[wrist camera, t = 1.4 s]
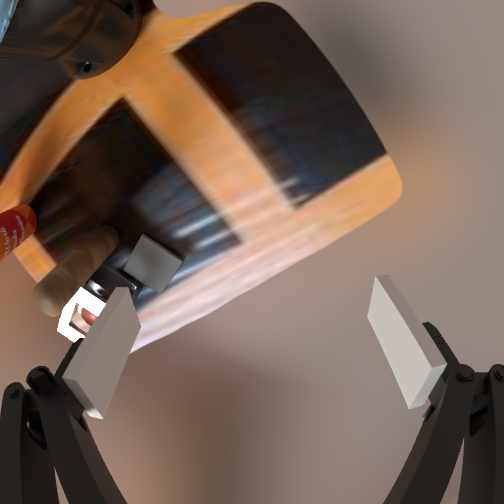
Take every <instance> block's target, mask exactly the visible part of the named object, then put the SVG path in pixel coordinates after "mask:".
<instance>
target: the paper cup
mask: <svg viewBox="0 0 504 504" xmlns="http://www.w3.org/2000/svg"><path fill="white" fill-rule="evenodd" d="M36 227H37V218H36V215H35V213H34V211H33V209H32V208H31V207H30V206H29V205H27V204H22V205H19V206H16V207H14V208H11V209H9V210H7V211H5V212H3V213H0V262H1V261H2V260H3V259H4V258H5V257H6V256H7V255H9V253H11V252H12V251H13V250H14V249H15V248H16V247H18V246H19V245H20V244H21V243H22V242H23V241H25V240H26V239H27V238H28V237H29V236H30V235H32V234H33V233H34V232H35V230H36Z"/></svg>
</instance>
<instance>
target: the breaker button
mask: <svg viewBox="0 0 504 504" xmlns="http://www.w3.org/2000/svg"><path fill="white" fill-rule="evenodd" d="M100 296H101V297H103V296H102V295H100ZM103 298H104V299H106V298H105V297H103ZM106 300H107V299H106ZM107 301H108V300H107ZM81 315H82V317H83V319H84V320H85V322H86V323H87V324H89V325H90V326H92V324H93V323H94V321H95V320H96V318H97V315H95V314H94V313H92V312H91V311H89V310H88V309H86V308H85V307H82V309H81Z"/></svg>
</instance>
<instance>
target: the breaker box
mask: <svg viewBox="0 0 504 504" xmlns="http://www.w3.org/2000/svg"><path fill="white" fill-rule="evenodd" d="M116 287H128V288H129V291H130V295H131V298H132V301H133V303H134V301H135V300H136V298H137V296H138V294H139V293H140V291H141V289H142V287H143V286H142V285H140V284H139V283H137V282H136V281H134V280H133V279H131V278H129V277H128V276H126V275H125V274H123V273H122V272H120V271H119V270H117V269H116V268H114V267H113V266H112V265H110V264H109V263H107V262H106V261H104V262H103V263H102V264H101V265H100V266H99V267H98V269H97V270H96V271H95V272H94V273H93V274H92V275H91V277H90V278H89V279H88V280H87V281H86V282H85V284H84V285H83V286H82V287H81V288H80V290H79V291H78V292H77V293H76V294H75V296H74V297H73V298H72V299H71V300H70V302H69V303H68V304H67V305H66V307H65V308H64V309H63V313H62V316H61V319H60V323H59V327H58V331H59V332H60V333H62V334H63V335H65V336H66V337H68V338H69V339H71V340H72V341H74V342H75V341H76V340H77V339H78V338H79V337H85V336H86V334H87V333H85V332H84V331H82V330H81V329H79V328H78V327H76V326H75V325H74V324H72V323H71V322H70V321H71V319H72V318H73V316H74V315H75V314H76V312H77V311H78V312H80V313H81V309H82V307H85V308H86V309H88V310H89V311H91V312H92V313H94V314H95V315H97V316H98V315H99V313H100V312H101V310H102V308H103V307H104V305H105V304H106V302H107V300H108V299H109V298H110V296H111V295H112V293H113V291H114V290H115V288H116ZM100 295H102V296H103V297H105V298H106V299H107V300H106V299H104V298H103V297H101V296H100Z"/></svg>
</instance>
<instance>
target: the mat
mask: <svg viewBox="0 0 504 504" xmlns="http://www.w3.org/2000/svg"><path fill="white" fill-rule="evenodd" d="M182 262H183V260H182V259H181V258H179V257H178V256H176V255H175V254H173V253H172V252H170V251H169V250H167V249H166V248H164V247H162V246H161V245H159V244H158V243H156V242H155V241H153V240H152V239H150V238H149V237H147V236H146V235H144V234H142V236H141V237H140V239H139V241H138V243H137V245H136V246H135V248H134V250H133V252H132V254H131V256H130V258H129V259H128V261H127V263H126V265H125V267H124V269H123V270H124V271H125V272H127V273H128V274H130V275H131V276H133V277H134V278H136V279H137V280H139V281H141V282H142V283H144V284H145V285H147V286H148V287H150V288H151V289H153V290H155V291H156V292H158V293H159V294H161V293H162V292H163V290H164V289H165V287H166V286H167V284H168V283H169V281H170V280H171V278H172V277H173V275H174V274H175V272H176V271H177V269H178V268H179V266H180V265H181V264H182Z"/></svg>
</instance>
